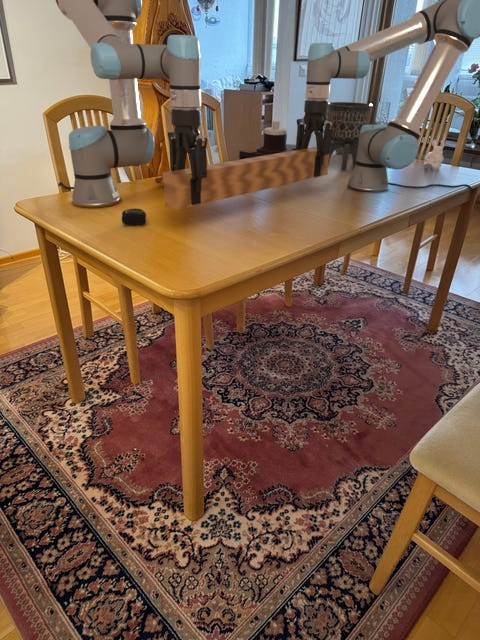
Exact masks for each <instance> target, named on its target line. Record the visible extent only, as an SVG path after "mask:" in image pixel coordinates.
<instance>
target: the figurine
mask: <svg viewBox="0 0 480 640" xmlns="http://www.w3.org/2000/svg"><path fill="white" fill-rule="evenodd" d="M437 144H438V142H437V139H436V138H434V139H433V140H432V141H431V146H432V148H433V150H432V151H430V152H428V153H427V154H426V155H425V157H424V161H423V163H422V167H423V168H424V169H433V170H437V171H439V168H440V167H441V165H442V162H443V161H444V155H443V154H444V151H443V149H444V147H445V145H446V143H445V142H444V141H443V140H442V139H440V145H437Z"/></svg>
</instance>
